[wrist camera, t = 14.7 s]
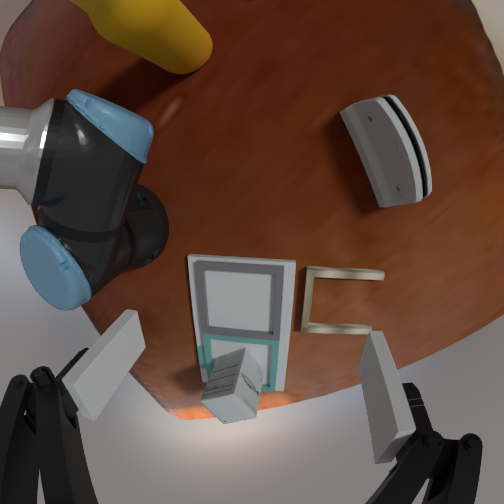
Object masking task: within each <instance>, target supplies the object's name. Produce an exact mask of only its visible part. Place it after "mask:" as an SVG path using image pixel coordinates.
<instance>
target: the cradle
mask: <svg viewBox="0 0 504 504" xmlns="http://www.w3.org/2000/svg"><path fill="white" fill-rule="evenodd" d="M384 275H385V273H384V272H383V270H374V269H353V268H334V267H315V266H307V272H306V283H305V294H304V303H303V313H302V321H301V332H306V333H331V334H368V333H369V331H372V327H371V325H370V324H334V323H309V317H310V309H311V301H312V293H313V283H314V277H324V278H344V279H367V280H384Z"/></svg>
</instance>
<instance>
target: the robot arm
mask: <svg viewBox="0 0 504 504" xmlns="http://www.w3.org/2000/svg"><path fill="white" fill-rule="evenodd" d="M153 136H154V130H153V127H152V125H151V124H150V122H148V121H147V120H146V119H144V118H143V117H141V116H139V115H137V114H135V113H133V112H131V111H129V110H127V109H125V108H123V107H121V106H118V105H116V104H114V103H112V102H110V101H107V100H105V99H102V98H100V97H97V96H95V95H92V94H89V93H86V92H83V91H81V90H77V89H73V90H72V91H71V92H70V93H69V94H68V95H67V97H66V101H63V100H58V99H52V98H51V99H50V100H48V101H47V102H45V103H44V104H43V105H41V106H40V107H38V108H37V109H34V110H29V109H21V108H13V107H3V106H0V189H16V190H17V191H18V192H20V194H21V195H22V197H23V198H24V199H25V201H26V202H27V203H28V205H41V207H40V214H39V222H38V224H37V226H36V225H34V226H30V227H29V229H28V230H27V231H26V232H25V233H24V234H23V235H22V237H21V242H20V255H21V260H22V264H23V267H24V270H25V272H26V275H27V277H28V279H29V280H30V282H31V284H32V285H33V287H34V288H35V290H36V291H37V292H38V293H39V295H40V296H41V297H42V298H43V299H44V300H45V301H46V302H48V303H49V304H50V305H52V306H53V307H55V308H57V309H60V310H65V311H67V310H73V309H75V308H77V307H79V306H80V305H82V304H84V303H85V302H88V301H89V300H90V298H91V297H92V296H93V295H94V294H95V293H97V292H98V291H99V290H100V289H102V288H103V287H104V286H105V285H106V284H108V283H109V282H110V281H111V280H113V279H114V278H115V277H116V276H118V275H119V274H120V273H121V272H123V271H124V270H127V269H133V268H139V267H143V266H145V265H147V264H149V263H151V262H152V261H153V260H155V259H156V258H157V257H158V256H159V255H160V254H161V253H162V251H163V250H164V248H165V246H166V243H167V240H168V234H169V224H168V218H167V214H166V212H165V209H164V207H163V205H162V203H161V202H160V200H159V199H158V198H157V196H156V195H155V194H154V193H153V192H151V191H150V190H149V189H147V188H146V187H144V186H141V185H138V184H137V183H138V180H139V177H140V174H141V172H142V169H143V166H144V164H146V162H147V159H146V157H147V154H148V151H149V148H150V145H151V143H152V140H153ZM145 347H146V346H145V342H144V338H143V334H142V330H141V326H140V322H139V317H138V313H137V311H134V310H128V309H126V310H125V311H124V313H123V314H122V315H121V316H120V317H119V318H118V319H117V320H116V321H115V322H114V323H113V324H112V325H111V326H110V327H109V328H108V329H107V330H106V331H105V332H104V333H103V335H102V336H101V337H100V338H99V339H98V340H97V341H96V342H95V343H94V344H93V345H92V346H91V347H90V349H89V348H85V349H83V350H81V351H80V352H78V354H77V355H76V356H75V357H74V359H72V360H71V361H70V362H69V363H68V364H67V365H66V367H65V368H64V369H63V370H62V371H61V372H60V373H59V374H58V376H56V378H55V377H54V375H53V373H52V371H51V370H50V369H49V368H48V367H45V366H41V367H38V368H36V369H35V370H33V371H32V373H31V375H30V378H31V380H32V382H33V383H30V382H29V380H28V378H27V377H26V376H25V375H17V376H15V377H13V378H12V379H11V381H10V383H9V385H8V388H7V390H6V393H5V395H4V398H3V401H2V404H1V406H0V504H37V491H38V478H39V469H40V474H41V481H42V488H43V493H44V498H45V503H46V504H98V501H97V498H96V495H95V492H94V489H93V486H92V482H91V478H90V475H89V471H88V467H87V463H86V458H85V454H84V450H83V445H82V439H81V434H80V428H79V422H78V417H77V414H76V412H77V411H78V410H79V411H80V412H81V414H82V416H83V417H85V418H87V419H90V420H92V421H95V420H96V418H97V417H98V415H99V414H100V412H101V411H102V409H103V408H104V406H105V405H106V403H107V402H108V400H109V399H110V397H111V396H112V394H113V393H114V392H115V390H116V389H117V387H118V386H119V384H120V383H121V381H122V380H123V378H124V377H125V376H126V374H127V373H128V371H129V370H130V369H131V367H132V366H133V364H134V363H135V361H136V360H137V359H138V357H139V356H140V354H141V353H142V352H143V350H144V349H145ZM358 369H359V374H360V379H361V384H362V388H363V394H364V399H365V404H366V409H367V415H368V421H369V426H370V432H371V439H372V445H373V452H374V459H375V464H380V463H387V462H391V461H392V460H393V459H394V457H395V456H396V460H397V464H396V465H395V466H394V467H393V468H392V469H391V470H390V471H389V474H388V476H387V477H386V478H385V480H384V481H383V483H382V484H381V485H380V486H379V488H378V489H377V490H376V492H375V493H374V494H373V495H372V496H371V498H370V499H369V500H368V501H367V502H366V503H365V504H412V502H413V500H414V499H415V497H416V496H417V494H418V493H419V491H420V489H421V488H422V486H423V484H424V483H425V481H426V479H430V480H429V483H428V486H427V490H426V493H425V496H424V499H423V502H422V504H474V502H475V497H476V492H477V487H478V481H479V474H480V467H481V458H482V447H483V446H482V441H481V439H480V438H479V437H478V436H477V435H475V434H472V433H469V434H466V435H464V436H463V437H462V438H461V439H460V440H450V439H444V438H443V437H442V436H441V434H439V433H438V432H436V431H433V429H432V426H431V423H430V420H429V417H428V414H427V411H426V409H425V406H424V403H423V401H422V399H421V395H420V392H419V390H418V389H417V387H416V386H415V385H414V384H413V383H401V380H400V377H399V375H398V372H397V369H396V366H395V363H394V361H393V358H392V355H391V353H390V350H389V347H388V345H387V342H386V340H385V337H384V335H383V332H382V331H369V333H368V337H367V341H366V344H365V348H364V351H363V355H362V358H361V361H360V364H359V368H358ZM25 411H26V415H24V412H25Z"/></svg>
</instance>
